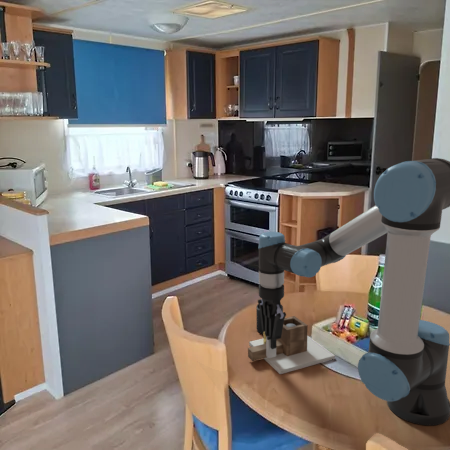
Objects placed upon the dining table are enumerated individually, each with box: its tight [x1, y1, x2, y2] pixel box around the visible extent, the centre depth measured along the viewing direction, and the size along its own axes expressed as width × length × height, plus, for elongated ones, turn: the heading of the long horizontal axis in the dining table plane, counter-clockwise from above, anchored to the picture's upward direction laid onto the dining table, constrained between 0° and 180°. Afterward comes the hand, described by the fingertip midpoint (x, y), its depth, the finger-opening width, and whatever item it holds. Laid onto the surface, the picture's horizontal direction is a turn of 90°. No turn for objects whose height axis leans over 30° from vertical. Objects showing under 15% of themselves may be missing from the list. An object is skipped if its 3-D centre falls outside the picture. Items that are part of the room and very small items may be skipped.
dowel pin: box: [262, 332, 266, 344], centre depth 148 cm, size 2×2×4 cm
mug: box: [255, 303, 284, 335], centre depth 161 cm, size 9×12×9 cm
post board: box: [248, 323, 336, 375], centre depth 144 cm, size 20×20×9 cm
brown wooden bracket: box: [247, 315, 309, 362], centre depth 142 cm, size 19×8×9 cm, turn 115°
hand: (271, 356), depth 137 cm, fingers closed
